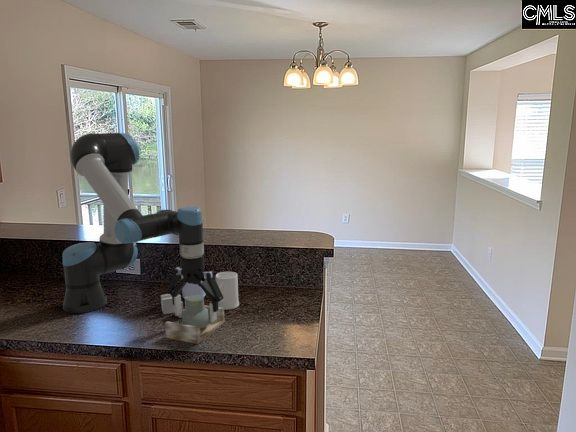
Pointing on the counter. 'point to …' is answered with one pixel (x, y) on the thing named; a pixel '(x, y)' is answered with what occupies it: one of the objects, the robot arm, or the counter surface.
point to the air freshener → (195, 312)
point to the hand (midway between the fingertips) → (195, 317)
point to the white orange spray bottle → (192, 289)
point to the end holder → (193, 329)
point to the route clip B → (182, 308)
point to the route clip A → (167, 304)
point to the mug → (228, 289)
